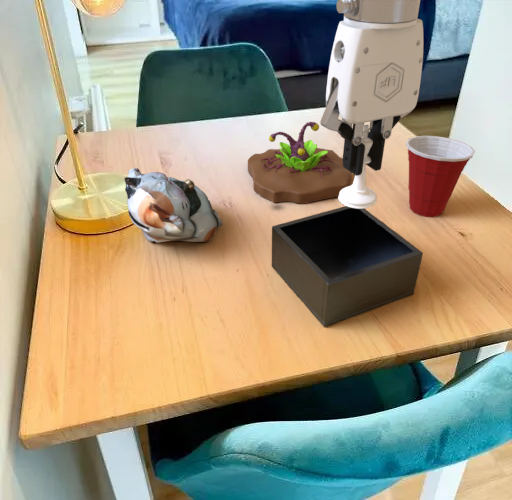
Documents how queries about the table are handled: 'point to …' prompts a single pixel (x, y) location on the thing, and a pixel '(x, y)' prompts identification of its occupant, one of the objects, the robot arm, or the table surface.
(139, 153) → the table surface
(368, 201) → the chess piece
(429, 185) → the plastic cup
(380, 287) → the dark grey open box
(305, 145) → the plant
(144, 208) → the lucky cat figurine
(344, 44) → the robot arm
